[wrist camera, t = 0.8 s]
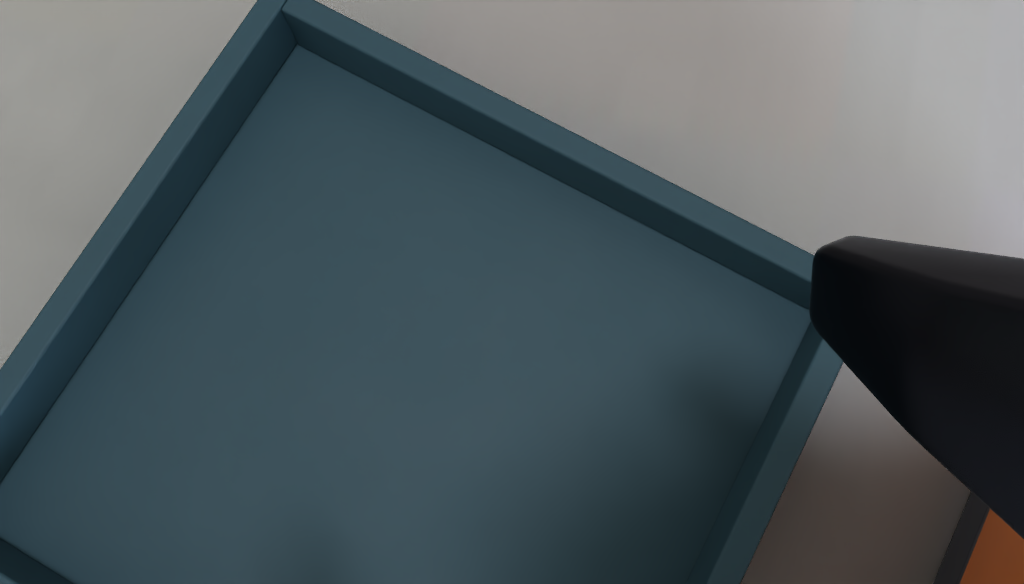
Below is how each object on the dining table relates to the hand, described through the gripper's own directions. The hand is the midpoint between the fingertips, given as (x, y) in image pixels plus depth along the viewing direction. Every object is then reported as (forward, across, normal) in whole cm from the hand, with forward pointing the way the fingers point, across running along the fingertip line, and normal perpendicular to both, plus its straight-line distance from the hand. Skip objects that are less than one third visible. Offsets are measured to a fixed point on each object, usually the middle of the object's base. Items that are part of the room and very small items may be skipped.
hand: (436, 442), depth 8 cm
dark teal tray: (+9, -2, +7) cm, 12 cm away
